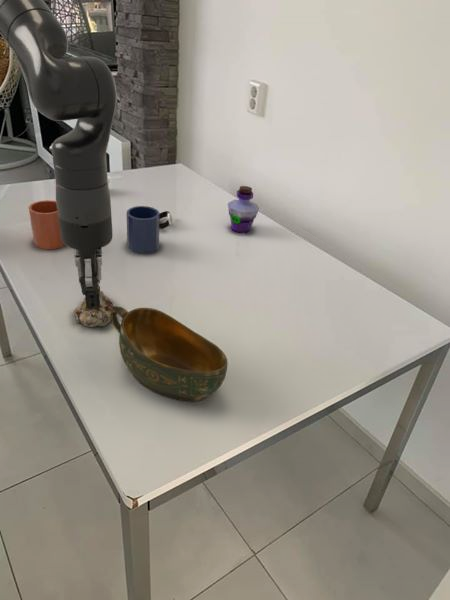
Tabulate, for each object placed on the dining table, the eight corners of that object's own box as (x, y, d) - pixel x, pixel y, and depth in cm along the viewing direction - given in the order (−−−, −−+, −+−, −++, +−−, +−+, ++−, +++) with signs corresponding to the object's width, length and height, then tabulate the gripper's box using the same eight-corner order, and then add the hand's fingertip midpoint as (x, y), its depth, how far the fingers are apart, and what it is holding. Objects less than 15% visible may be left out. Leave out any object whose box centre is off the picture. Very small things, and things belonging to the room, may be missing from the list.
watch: (170, 231, 119) (170, 219, 117) (152, 229, 119) (152, 217, 117) (173, 219, 126) (174, 207, 124) (156, 217, 126) (157, 205, 124)
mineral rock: (118, 319, 83) (73, 310, 81) (112, 338, 85) (69, 329, 83) (120, 289, 92) (80, 279, 89) (115, 306, 94) (76, 297, 91)
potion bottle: (222, 232, 122) (226, 190, 115) (227, 219, 129) (232, 179, 122) (253, 238, 121) (260, 195, 114) (257, 224, 128) (263, 184, 121)
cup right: (126, 253, 108) (125, 218, 103) (129, 238, 114) (128, 205, 109) (158, 254, 109) (158, 220, 104) (159, 239, 115) (160, 207, 110)
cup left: (30, 248, 105) (24, 212, 100) (38, 233, 112) (33, 199, 107) (64, 250, 106) (59, 214, 101) (70, 235, 113) (66, 201, 107)
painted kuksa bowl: (172, 331, 86) (174, 286, 80) (230, 401, 73) (238, 354, 67) (107, 351, 79) (104, 305, 74) (158, 433, 66) (159, 384, 60)
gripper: (60, 193, 70) (71, 286, 80) (54, 231, 60) (67, 333, 70) (110, 193, 72) (115, 284, 82) (112, 230, 61) (117, 329, 71)
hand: (93, 306), depth 76 cm, fingers closed
